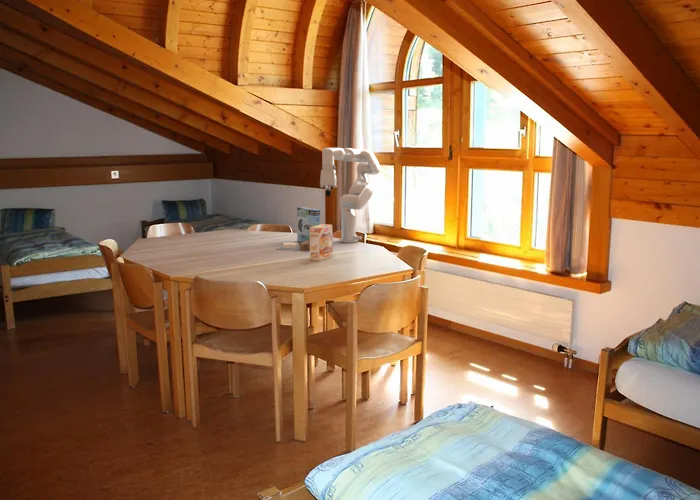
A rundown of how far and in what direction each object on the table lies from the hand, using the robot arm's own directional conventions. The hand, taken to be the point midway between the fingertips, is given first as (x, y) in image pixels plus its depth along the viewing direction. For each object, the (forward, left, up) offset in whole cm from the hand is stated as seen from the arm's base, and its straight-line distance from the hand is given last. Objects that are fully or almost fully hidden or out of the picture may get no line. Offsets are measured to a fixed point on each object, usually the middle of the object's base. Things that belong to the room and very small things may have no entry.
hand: (328, 196), depth 435 cm
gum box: (+16, -7, -32) cm, 37 cm away
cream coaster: (+21, +13, -31) cm, 40 cm away
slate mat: (+21, +13, -32) cm, 41 cm away
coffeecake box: (-8, +42, -32) cm, 54 cm away
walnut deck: (+8, +13, -32) cm, 36 cm away
